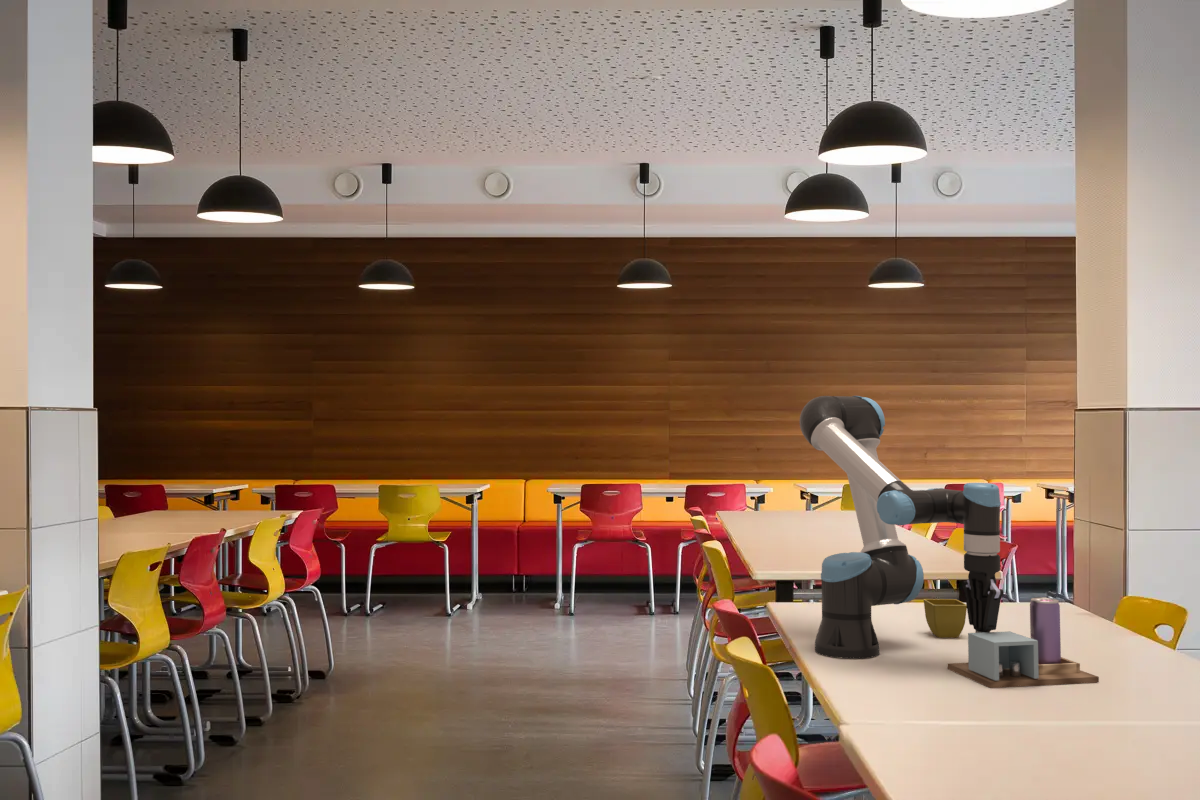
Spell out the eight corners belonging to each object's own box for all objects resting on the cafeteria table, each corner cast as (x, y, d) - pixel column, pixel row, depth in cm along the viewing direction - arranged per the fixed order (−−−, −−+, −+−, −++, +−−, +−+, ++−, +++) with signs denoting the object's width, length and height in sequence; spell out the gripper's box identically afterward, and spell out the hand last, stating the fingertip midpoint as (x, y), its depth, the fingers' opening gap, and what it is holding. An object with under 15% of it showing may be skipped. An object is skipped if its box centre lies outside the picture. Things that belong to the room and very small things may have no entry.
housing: (994, 680, 204) (994, 642, 204) (968, 669, 213) (968, 633, 214) (1038, 678, 205) (1037, 640, 206) (1010, 667, 215) (1010, 631, 215)
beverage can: (1064, 672, 211) (1062, 602, 212) (1034, 671, 213) (1033, 601, 213) (1057, 666, 217) (1055, 597, 218) (1028, 665, 218) (1027, 597, 219)
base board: (990, 688, 203) (990, 672, 204) (947, 668, 220) (947, 654, 220) (1098, 682, 208) (1098, 667, 208) (1048, 664, 224) (1048, 650, 225)
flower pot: (968, 640, 251) (967, 604, 252) (933, 640, 251) (933, 604, 252) (956, 633, 260) (956, 598, 260) (923, 633, 260) (922, 598, 261)
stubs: (996, 678, 206) (996, 664, 207) (991, 676, 208) (991, 662, 208) (1022, 677, 207) (1022, 662, 208) (1017, 675, 209) (1016, 660, 210)
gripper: (1014, 556, 212) (1014, 666, 212) (981, 549, 224) (982, 652, 224) (982, 557, 211) (982, 668, 210) (951, 549, 223) (951, 654, 223)
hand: (982, 660), depth 217 cm, fingers closed
